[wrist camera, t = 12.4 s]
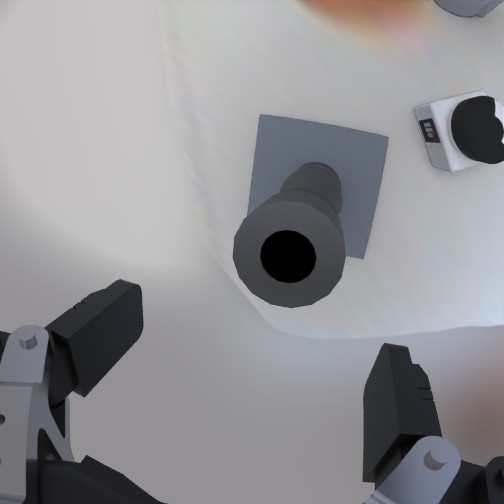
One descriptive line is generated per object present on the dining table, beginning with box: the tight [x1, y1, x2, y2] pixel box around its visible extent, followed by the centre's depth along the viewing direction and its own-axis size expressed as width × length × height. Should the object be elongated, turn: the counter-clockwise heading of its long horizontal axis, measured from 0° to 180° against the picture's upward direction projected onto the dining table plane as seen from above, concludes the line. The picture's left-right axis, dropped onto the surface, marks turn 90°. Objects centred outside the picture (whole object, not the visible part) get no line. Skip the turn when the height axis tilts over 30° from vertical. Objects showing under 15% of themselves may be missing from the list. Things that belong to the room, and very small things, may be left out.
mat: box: [247, 114, 389, 259], centre depth 39 cm, size 16×16×1 cm
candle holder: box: [233, 162, 346, 308], centre depth 27 cm, size 6×6×25 cm
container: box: [414, 90, 504, 172], centre depth 27 cm, size 8×8×13 cm
